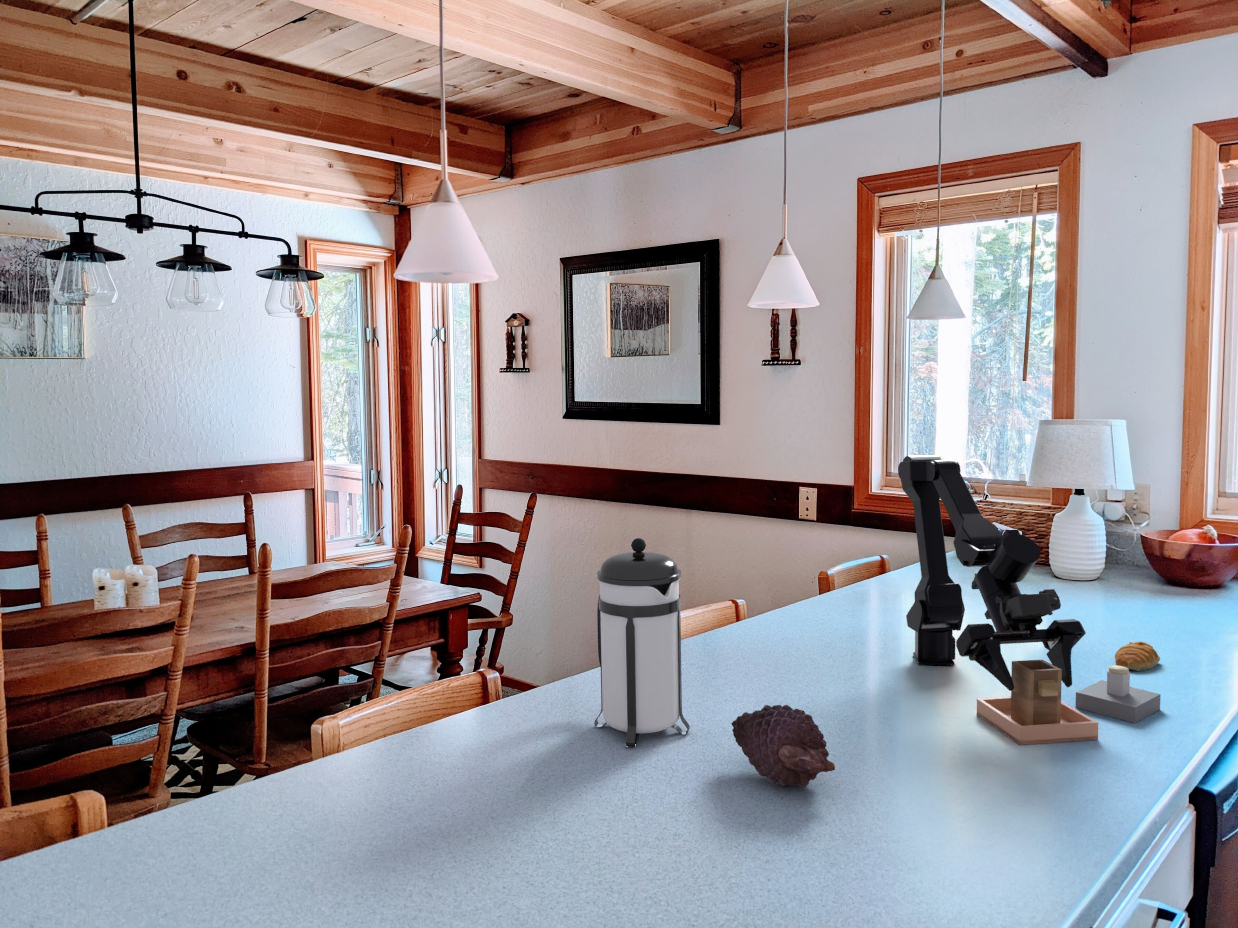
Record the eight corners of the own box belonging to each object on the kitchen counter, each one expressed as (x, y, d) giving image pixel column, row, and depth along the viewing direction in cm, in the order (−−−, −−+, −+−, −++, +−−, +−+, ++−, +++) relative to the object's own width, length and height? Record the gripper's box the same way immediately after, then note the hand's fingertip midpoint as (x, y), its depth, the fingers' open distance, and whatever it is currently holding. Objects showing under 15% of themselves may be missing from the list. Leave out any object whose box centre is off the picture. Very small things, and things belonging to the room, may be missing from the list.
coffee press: (701, 715, 143) (699, 531, 140) (675, 754, 128) (672, 548, 125) (600, 704, 149) (597, 527, 146) (564, 740, 134) (559, 543, 131)
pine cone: (710, 766, 124) (710, 696, 123) (763, 749, 129) (762, 682, 128) (804, 815, 109) (804, 736, 108) (858, 793, 115) (859, 718, 114)
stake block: (1075, 706, 143) (1076, 667, 143) (1101, 694, 149) (1102, 656, 148) (1135, 722, 136) (1136, 681, 136) (1160, 709, 142) (1161, 668, 141)
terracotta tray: (976, 714, 141) (976, 698, 141) (1048, 709, 142) (1049, 694, 142) (1019, 744, 129) (1019, 727, 129) (1097, 739, 130) (1098, 722, 130)
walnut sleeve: (1010, 717, 138) (1011, 661, 137) (1041, 715, 138) (1042, 659, 138) (1033, 732, 132) (1034, 673, 131) (1065, 730, 132) (1066, 671, 131)
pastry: (1147, 676, 158) (1148, 655, 158) (1106, 668, 163) (1106, 648, 163) (1161, 663, 165) (1161, 643, 165) (1121, 657, 170) (1121, 637, 170)
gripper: (966, 573, 137) (1003, 665, 127) (1079, 568, 139) (1125, 658, 129) (941, 611, 145) (974, 700, 135) (1048, 605, 147) (1089, 693, 137)
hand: (1041, 687), depth 134 cm, fingers open, 9 cm apart
